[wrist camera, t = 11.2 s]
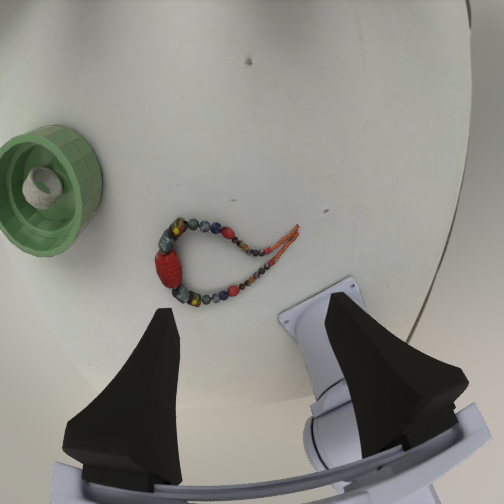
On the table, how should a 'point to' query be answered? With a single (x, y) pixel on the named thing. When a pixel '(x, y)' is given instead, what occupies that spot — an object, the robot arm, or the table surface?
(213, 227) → the necklace
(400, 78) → the table surface
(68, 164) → the bowl
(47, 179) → the ring
